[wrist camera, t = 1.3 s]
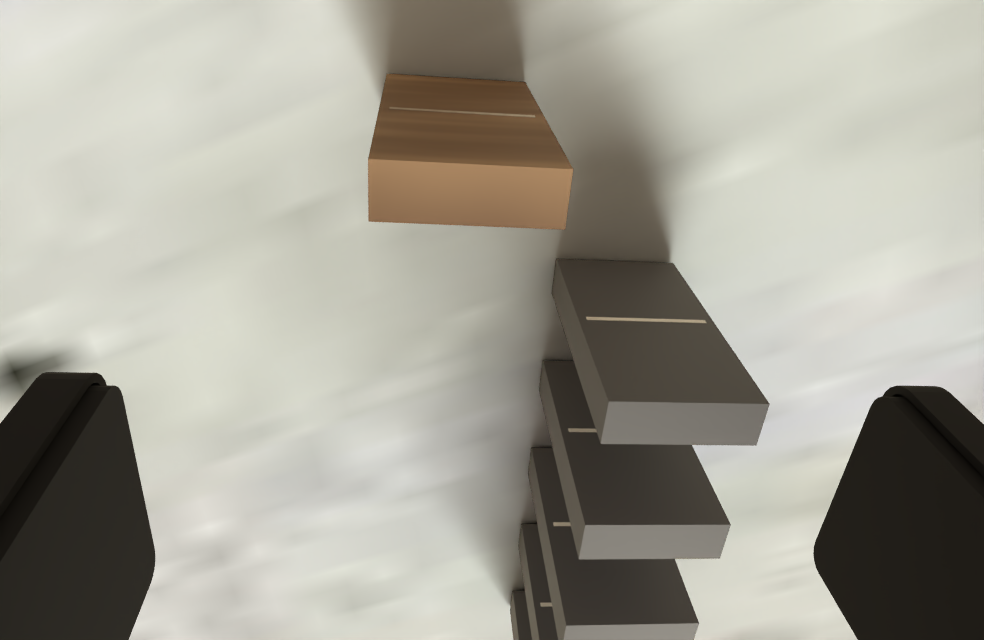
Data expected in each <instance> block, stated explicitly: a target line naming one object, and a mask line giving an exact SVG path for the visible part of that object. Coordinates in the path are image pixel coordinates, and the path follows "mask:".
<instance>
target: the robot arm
mask: <svg viewBox="0 0 984 640" xmlns="http://www.w3.org/2000/svg"><path fill="white" fill-rule="evenodd" d="M814 561H815V565H816V568H817V570H818V572H819V574H820V576H821V578H822V579H823V581H824V583H825V585H826V586H827V588H828V590H829V591H830V593H831V595H832V596H833V598H834V600H835V602H836V603H837V605H838V607H839V608H840V610H841V612H842V613H843V615H844V617H845V619H846V620H847V622H848V624H849V625H850V627H851V629H852V630H853V632H854V634H855V635H856V637H857V639H858V640H984V424H983V423H982V422H980V421H979V420H978V419H977V418H976V417H975V416H974V415H973V414H972V413H971V412H970V411H969V410H968V409H967V408H966V407H964V406H963V405H962V404H961V403H960V402H959V401H958V400H957V399H956V398H955V397H954V396H953V395H952V394H951V393H950V392H948V391H947V390H945V389H944V388H941V387H936V386H894V387H891V388H890V389H888V390H887V391H886V392H885V393H884V395H883V397H879V398H877V399H876V400H875V401H874V402H873V404H872V405H871V407H870V410H869V412H868V415H867V417H866V419H865V422H864V424H863V427H862V429H861V432H860V434H859V437H858V439H857V441H856V444H855V446H854V449H853V451H852V454H851V456H850V459H849V461H848V463H847V466H846V468H845V471H844V473H843V476H842V478H841V481H840V483H839V485H838V488H837V490H836V493H835V495H834V498H833V500H832V502H831V505H830V507H829V510H828V512H827V515H826V517H825V520H824V522H823V524H822V527H821V529H820V532H819V534H818V537H817V539H816V542H815V545H814ZM154 567H155V549H154V544H153V539H152V534H151V529H150V525H149V520H148V515H147V510H146V505H145V501H144V496H143V491H142V486H141V482H140V477H139V472H138V467H137V462H136V458H135V453H134V448H133V443H132V439H131V434H130V429H129V424H128V419H127V415H126V410H125V405H124V400H123V396H122V393H121V391H120V389H119V388H118V387H117V386H107V385H106V382H105V380H104V378H103V377H102V375H100V374H98V373H68V372H46V373H42V374H41V375H40V376H39V377H37V378H36V379H35V381H34V382H33V383H32V384H31V386H30V387H29V388H28V390H27V391H26V392H25V393H24V395H23V396H22V397H21V398H20V400H19V401H18V402H17V403H16V405H15V406H14V407H13V408H12V410H11V411H10V412H9V413H8V415H7V416H6V417H5V418H4V420H3V421H2V422H1V423H0V640H129V637H130V635H131V632H132V629H133V627H134V624H135V622H136V619H137V617H138V614H139V612H140V609H141V606H142V604H143V601H144V599H145V596H146V594H147V591H148V589H149V586H150V584H151V580H152V577H153V573H154Z"/></svg>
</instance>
